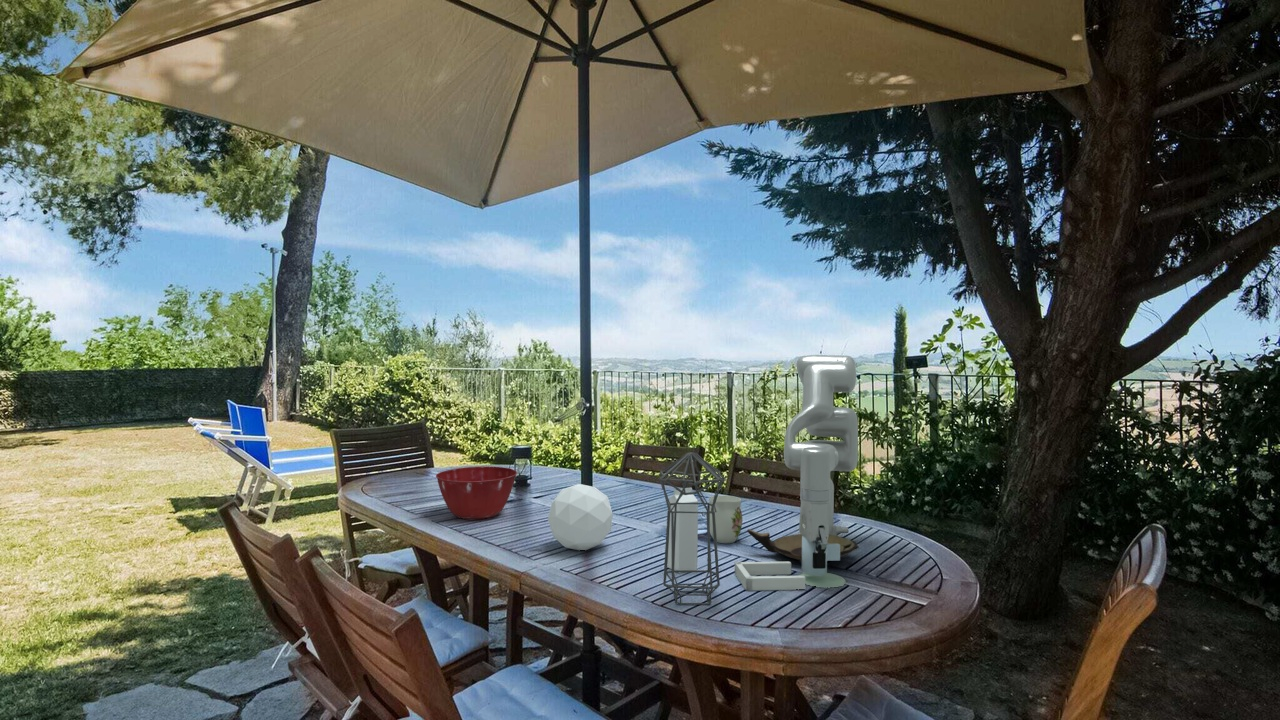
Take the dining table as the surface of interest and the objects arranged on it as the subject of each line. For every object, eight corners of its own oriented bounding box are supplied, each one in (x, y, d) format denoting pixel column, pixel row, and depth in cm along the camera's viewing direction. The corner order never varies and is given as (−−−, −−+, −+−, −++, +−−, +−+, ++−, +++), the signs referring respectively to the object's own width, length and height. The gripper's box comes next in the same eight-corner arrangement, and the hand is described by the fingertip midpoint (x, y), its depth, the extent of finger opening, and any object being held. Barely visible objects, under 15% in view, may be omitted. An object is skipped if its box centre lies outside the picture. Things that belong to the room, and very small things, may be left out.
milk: (697, 570, 178) (699, 489, 178) (678, 573, 175) (680, 491, 175) (685, 564, 183) (686, 485, 183) (666, 567, 180) (668, 487, 180)
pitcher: (752, 535, 213) (753, 493, 213) (730, 549, 198) (730, 503, 198) (721, 530, 219) (722, 489, 219) (697, 543, 204) (698, 499, 204)
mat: (835, 572, 177) (835, 571, 177) (852, 588, 165) (852, 586, 165) (791, 573, 177) (791, 572, 177) (806, 588, 165) (806, 587, 165)
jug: (806, 575, 168) (806, 540, 168) (798, 567, 174) (798, 533, 174) (843, 575, 168) (843, 540, 168) (834, 567, 175) (834, 533, 175)
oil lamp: (848, 577, 174) (848, 548, 174) (741, 559, 189) (741, 532, 189) (864, 555, 193) (865, 529, 193) (766, 540, 208) (766, 516, 208)
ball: (586, 565, 203) (614, 507, 212) (601, 559, 185) (631, 497, 194) (532, 535, 202) (562, 478, 211) (542, 527, 184) (575, 466, 193)
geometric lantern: (659, 609, 150) (658, 456, 151) (660, 587, 166) (659, 448, 166) (728, 610, 149) (727, 456, 150) (722, 588, 165) (722, 448, 166)
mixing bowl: (474, 529, 217) (474, 483, 217) (418, 517, 233) (418, 474, 233) (532, 513, 241) (533, 471, 241) (478, 503, 257) (478, 463, 256)
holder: (789, 572, 177) (789, 561, 177) (805, 589, 164) (805, 577, 164) (734, 573, 176) (734, 562, 176) (746, 590, 163) (746, 578, 163)
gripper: (790, 488, 179) (790, 553, 179) (812, 502, 162) (811, 575, 162) (817, 488, 180) (817, 553, 180) (841, 502, 162) (840, 574, 163)
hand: (814, 563), depth 171 cm, fingers closed on jug, 6 cm apart
